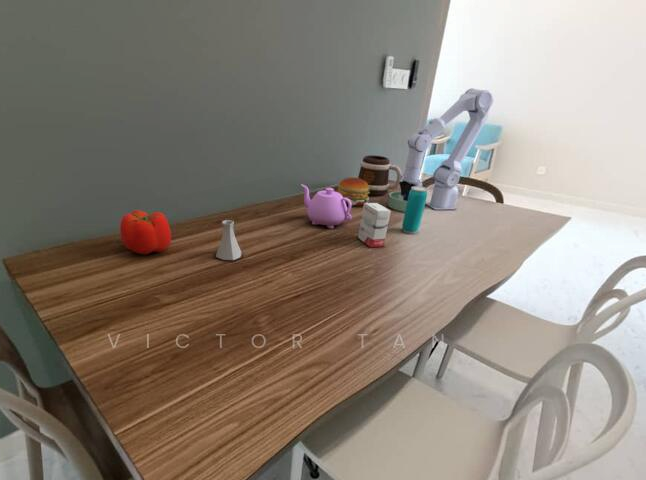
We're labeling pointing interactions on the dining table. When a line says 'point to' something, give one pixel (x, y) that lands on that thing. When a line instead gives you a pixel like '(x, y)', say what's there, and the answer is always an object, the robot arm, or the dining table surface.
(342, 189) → the burger
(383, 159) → the mug
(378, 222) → the ink box
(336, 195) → the teapot
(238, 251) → the flask
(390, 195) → the bowl
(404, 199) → the eraser
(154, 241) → the red bell pepper
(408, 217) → the beverage can
